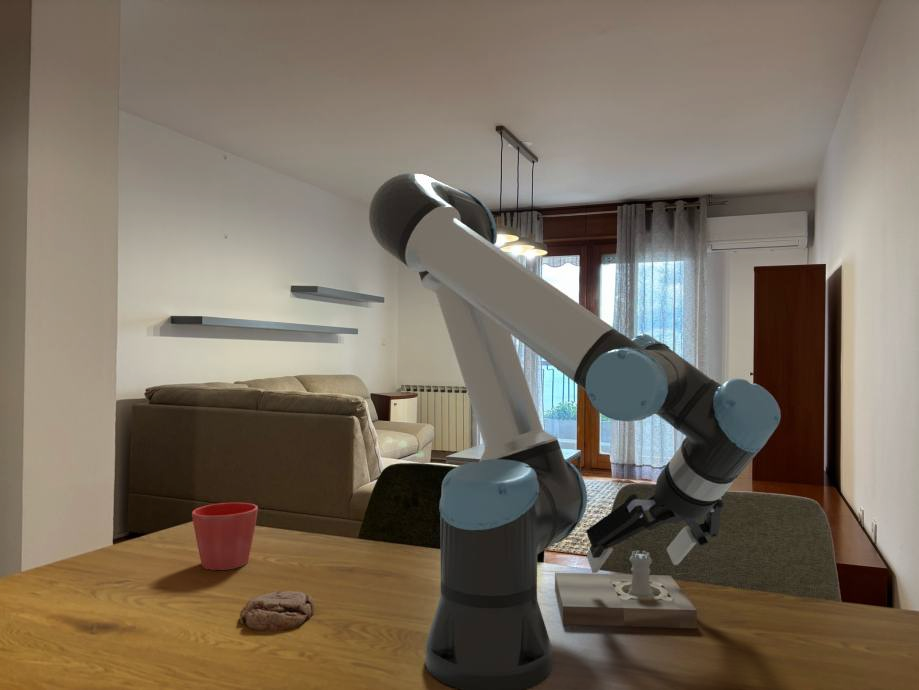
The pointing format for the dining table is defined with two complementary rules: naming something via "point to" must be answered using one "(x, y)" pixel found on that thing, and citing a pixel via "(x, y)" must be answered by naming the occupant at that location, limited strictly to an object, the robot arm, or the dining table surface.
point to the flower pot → (224, 534)
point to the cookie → (277, 610)
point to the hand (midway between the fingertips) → (632, 560)
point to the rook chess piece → (640, 575)
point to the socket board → (622, 602)
